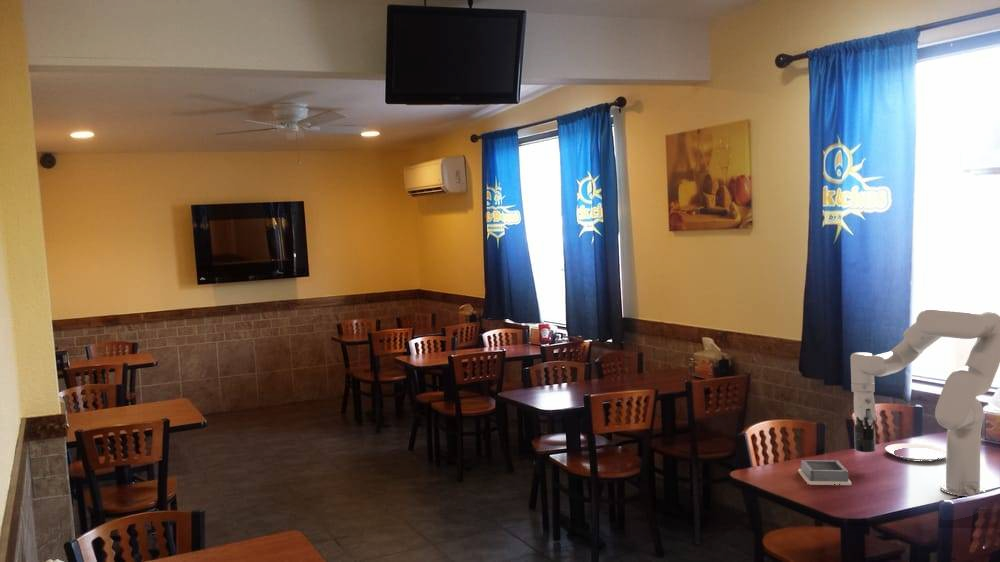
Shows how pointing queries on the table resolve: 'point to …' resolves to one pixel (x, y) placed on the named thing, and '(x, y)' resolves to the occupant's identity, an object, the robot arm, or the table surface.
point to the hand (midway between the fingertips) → (864, 436)
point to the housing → (824, 472)
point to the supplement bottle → (858, 438)
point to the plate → (907, 445)
